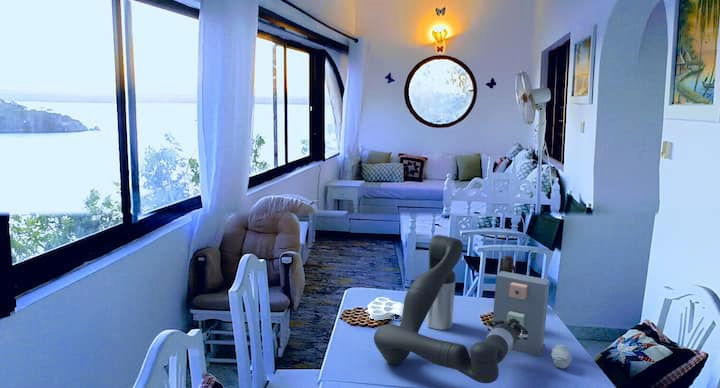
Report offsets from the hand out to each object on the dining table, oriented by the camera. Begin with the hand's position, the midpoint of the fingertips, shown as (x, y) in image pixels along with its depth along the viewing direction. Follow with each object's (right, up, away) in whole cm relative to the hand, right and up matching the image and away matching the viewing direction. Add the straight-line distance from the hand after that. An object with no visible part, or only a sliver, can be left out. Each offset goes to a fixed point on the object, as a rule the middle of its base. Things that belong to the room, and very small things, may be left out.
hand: (514, 321), depth 169 cm
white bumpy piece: (-41, -5, +32) cm, 52 cm away
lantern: (+9, -4, +45) cm, 46 cm away
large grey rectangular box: (+3, -10, +8) cm, 13 cm away
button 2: (+1, -2, +2) cm, 3 cm away
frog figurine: (+13, -13, -6) cm, 19 cm away
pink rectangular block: (+1, +8, 0) cm, 8 cm away
